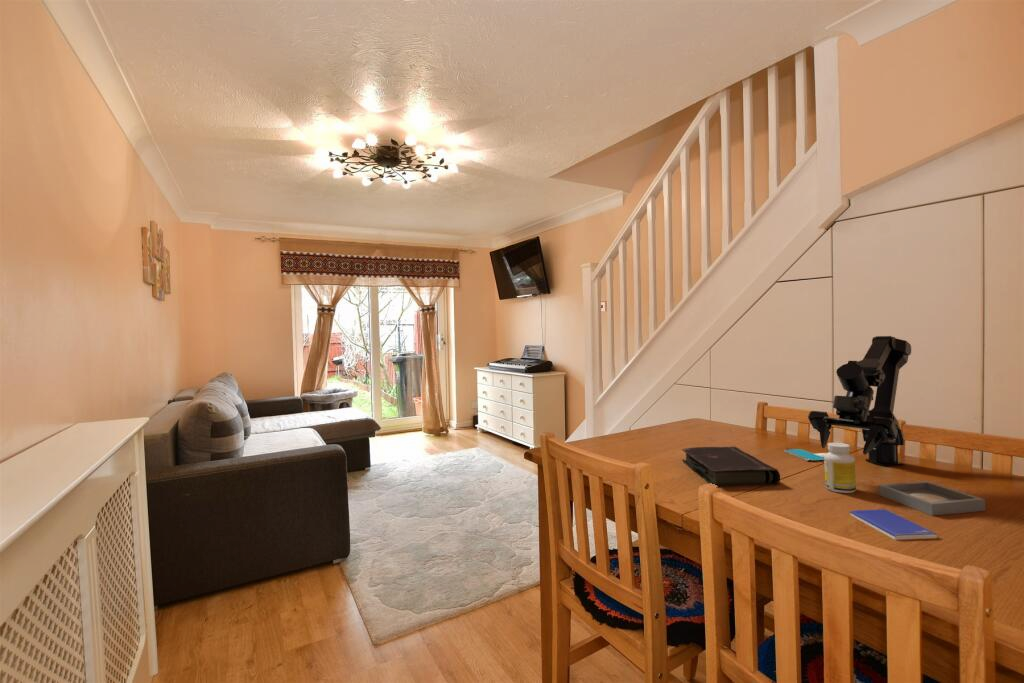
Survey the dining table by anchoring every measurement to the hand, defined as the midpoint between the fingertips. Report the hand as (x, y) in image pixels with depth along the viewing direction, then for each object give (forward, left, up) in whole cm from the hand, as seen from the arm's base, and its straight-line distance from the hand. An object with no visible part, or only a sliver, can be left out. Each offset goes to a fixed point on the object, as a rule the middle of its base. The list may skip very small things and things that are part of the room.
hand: (842, 450), depth 120 cm
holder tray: (-10, +13, -10) cm, 19 cm away
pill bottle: (+2, +1, -10) cm, 10 cm away
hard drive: (+9, +22, -10) cm, 26 cm away
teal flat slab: (-13, -28, -10) cm, 32 cm away
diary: (+21, -19, -10) cm, 30 cm away
